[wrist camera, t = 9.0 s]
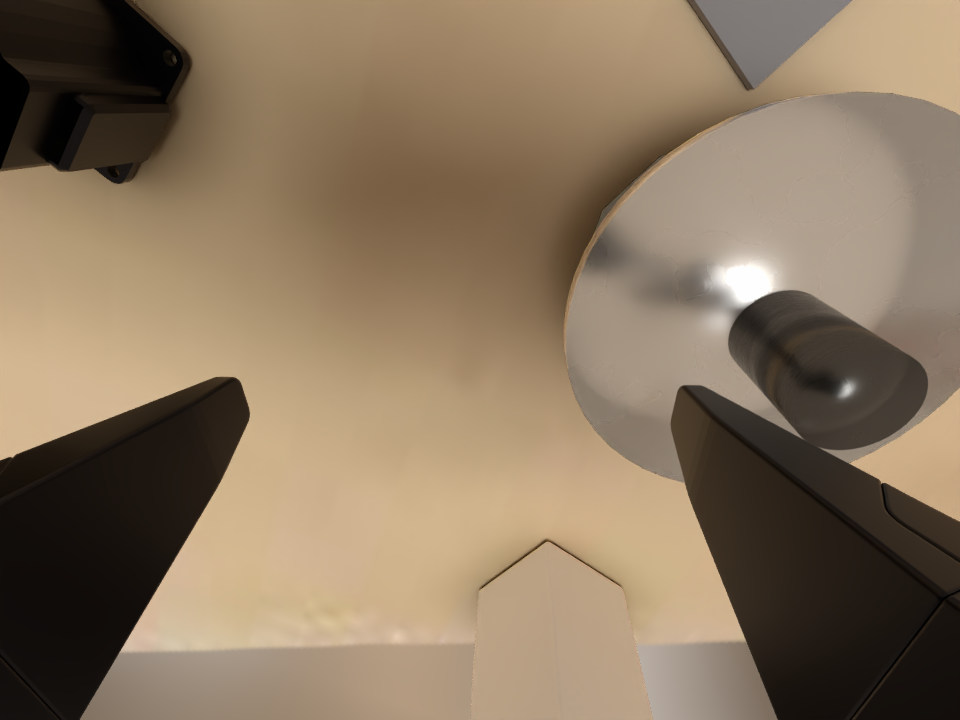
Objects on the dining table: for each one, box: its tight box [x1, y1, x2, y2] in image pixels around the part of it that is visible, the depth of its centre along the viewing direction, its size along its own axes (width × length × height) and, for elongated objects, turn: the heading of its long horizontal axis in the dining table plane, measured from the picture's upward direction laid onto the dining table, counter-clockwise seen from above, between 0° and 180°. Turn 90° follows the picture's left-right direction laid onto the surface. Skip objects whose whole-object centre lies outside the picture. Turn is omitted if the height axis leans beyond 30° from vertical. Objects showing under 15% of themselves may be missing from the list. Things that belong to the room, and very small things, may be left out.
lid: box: [564, 92, 960, 483], centre depth 13 cm, size 14×14×5 cm
